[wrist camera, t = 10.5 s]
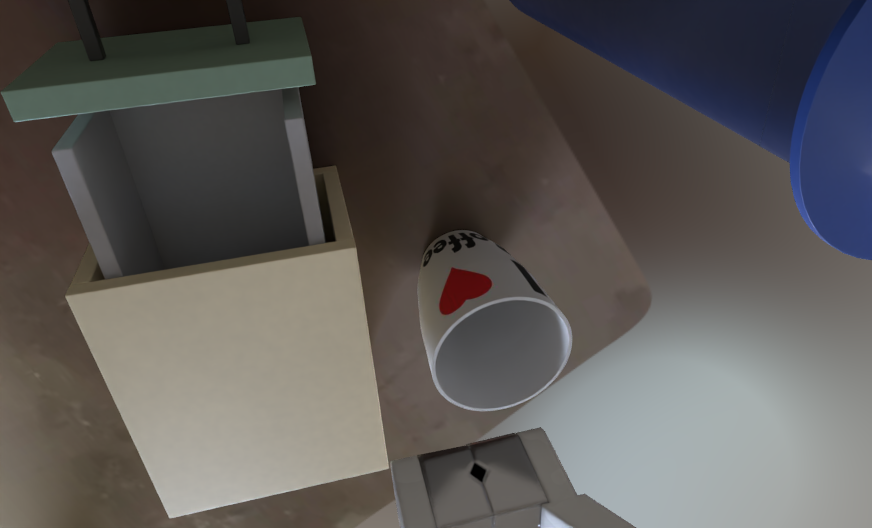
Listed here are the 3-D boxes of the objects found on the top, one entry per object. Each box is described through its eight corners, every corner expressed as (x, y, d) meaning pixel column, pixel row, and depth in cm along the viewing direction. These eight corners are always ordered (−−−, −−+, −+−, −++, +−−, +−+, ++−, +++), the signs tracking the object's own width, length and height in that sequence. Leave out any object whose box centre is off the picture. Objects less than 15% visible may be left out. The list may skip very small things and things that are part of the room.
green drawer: (15, -67, 27) (-61, -46, 21) (283, -89, 29) (290, -75, 23) (150, 291, 38) (127, 380, 31) (341, 259, 39) (357, 336, 33)
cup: (519, 205, 41) (582, 289, 33) (507, 304, 46) (561, 400, 38) (398, 215, 40) (434, 306, 32) (398, 317, 44) (429, 420, 36)
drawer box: (109, 197, 35) (64, 295, 27) (335, 164, 37) (356, 246, 29) (186, 399, 44) (169, 518, 36) (366, 363, 46) (389, 468, 38)
